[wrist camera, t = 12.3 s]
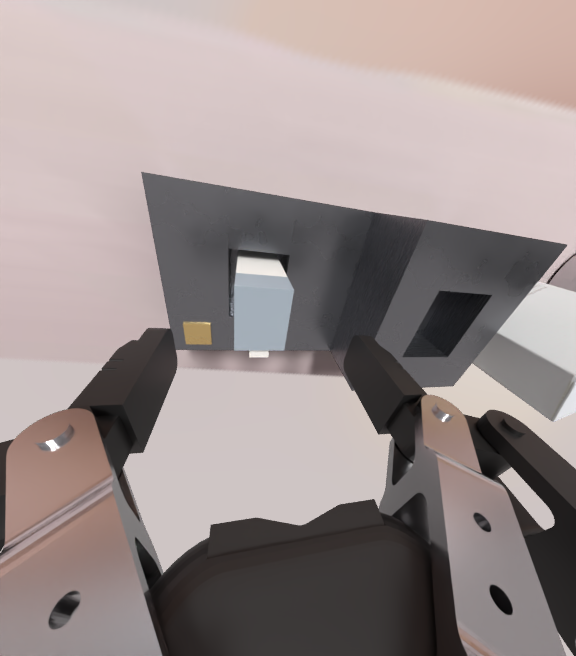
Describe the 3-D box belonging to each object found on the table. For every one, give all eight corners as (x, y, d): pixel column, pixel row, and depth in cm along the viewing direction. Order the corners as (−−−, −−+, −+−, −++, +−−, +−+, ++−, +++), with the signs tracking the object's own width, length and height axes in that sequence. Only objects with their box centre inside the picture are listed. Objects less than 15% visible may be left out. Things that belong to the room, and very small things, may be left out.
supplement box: (437, 339, 28) (549, 425, 18) (434, 297, 24) (578, 377, 14) (490, 314, 27) (642, 388, 17) (497, 265, 23) (703, 324, 13)
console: (445, 225, 19) (567, 244, 12) (393, 330, 26) (453, 386, 18) (165, 177, 14) (77, 158, 7) (185, 324, 20) (151, 399, 13)
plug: (275, 253, 17) (294, 289, 11) (270, 304, 20) (282, 360, 13) (238, 249, 17) (234, 285, 10) (237, 303, 19) (234, 360, 12)
